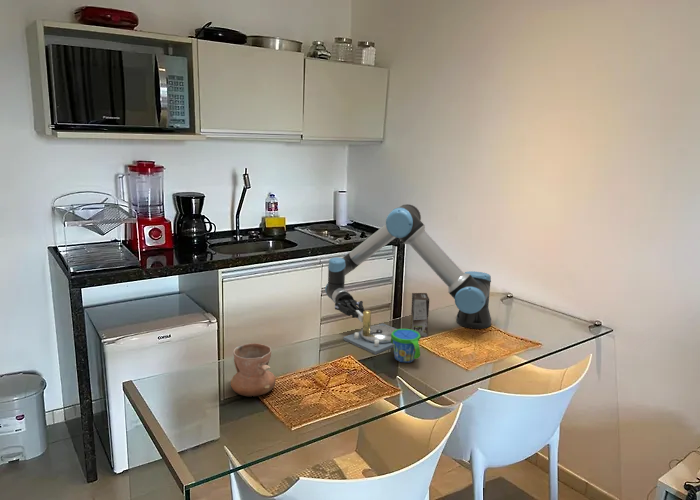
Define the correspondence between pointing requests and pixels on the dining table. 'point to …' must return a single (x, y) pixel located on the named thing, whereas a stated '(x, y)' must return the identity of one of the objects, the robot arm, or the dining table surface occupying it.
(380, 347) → the stand
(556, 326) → the dining table surface
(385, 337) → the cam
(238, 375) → the ceramic jug
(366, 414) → the dining table surface
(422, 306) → the coffee box
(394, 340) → the snack cup
